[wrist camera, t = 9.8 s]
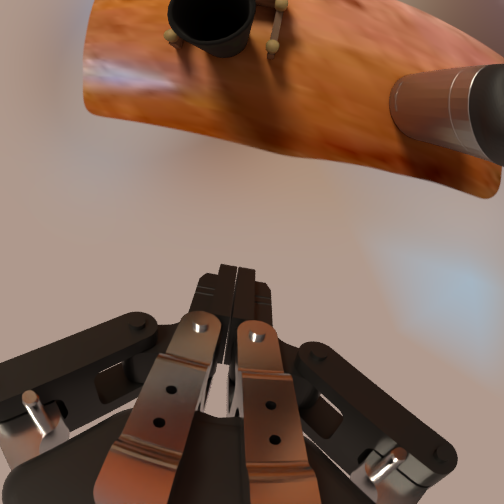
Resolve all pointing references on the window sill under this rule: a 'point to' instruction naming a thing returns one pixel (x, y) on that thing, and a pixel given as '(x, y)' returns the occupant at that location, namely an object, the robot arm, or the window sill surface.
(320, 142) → the window sill surface
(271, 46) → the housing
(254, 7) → the cup
